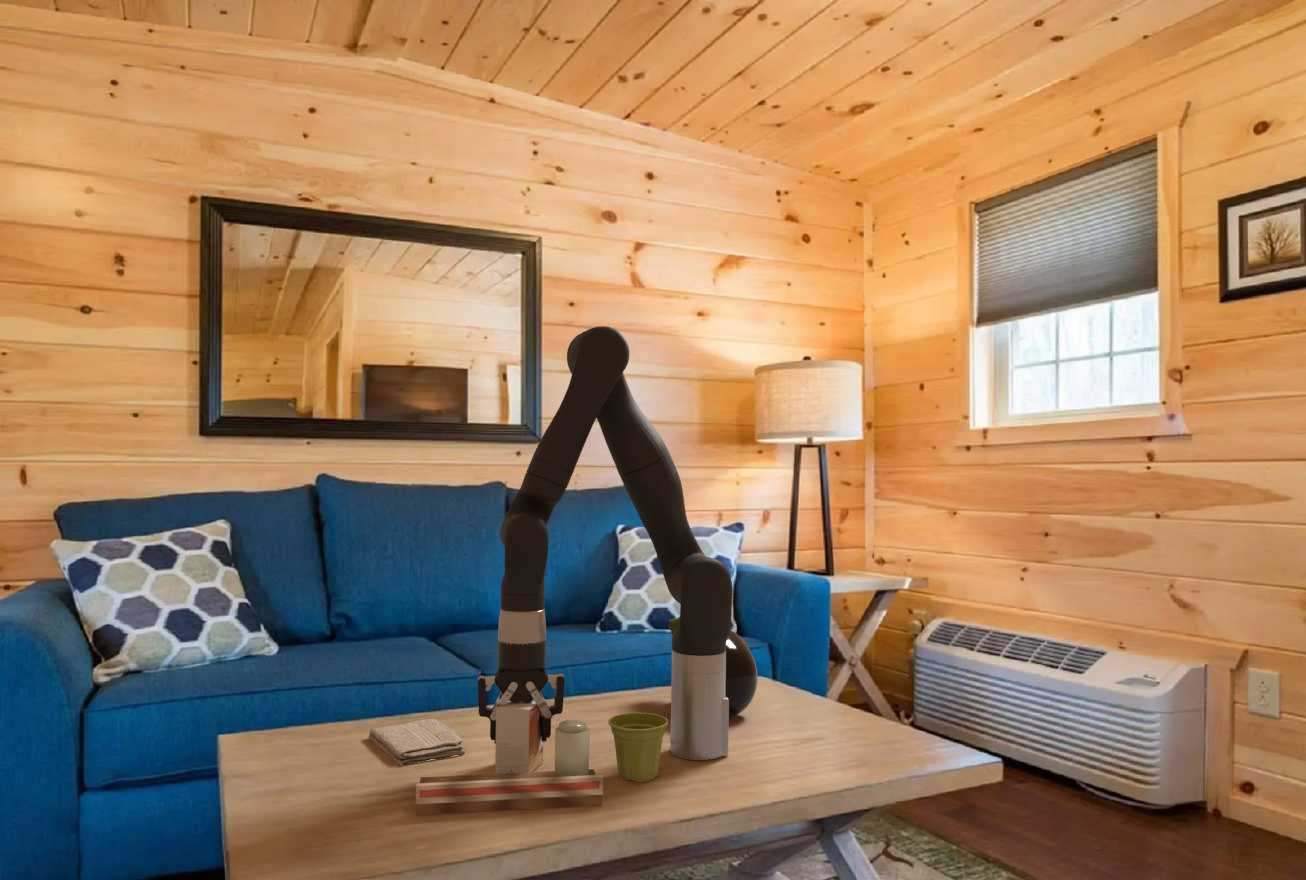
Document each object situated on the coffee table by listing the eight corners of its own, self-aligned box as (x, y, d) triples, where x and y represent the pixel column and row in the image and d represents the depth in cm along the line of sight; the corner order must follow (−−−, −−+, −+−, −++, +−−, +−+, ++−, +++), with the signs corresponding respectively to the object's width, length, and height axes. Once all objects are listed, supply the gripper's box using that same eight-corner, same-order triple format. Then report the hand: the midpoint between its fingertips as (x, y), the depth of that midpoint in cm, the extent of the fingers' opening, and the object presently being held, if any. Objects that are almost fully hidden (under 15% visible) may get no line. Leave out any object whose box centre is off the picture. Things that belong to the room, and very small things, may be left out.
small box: (528, 778, 143) (529, 709, 144) (494, 775, 144) (495, 707, 145) (544, 761, 151) (545, 697, 151) (511, 759, 152) (513, 694, 152)
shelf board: (593, 778, 143) (593, 752, 143) (602, 805, 132) (603, 777, 133) (420, 787, 139) (421, 760, 139) (415, 815, 128) (415, 786, 128)
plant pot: (623, 790, 139) (624, 731, 139) (597, 770, 147) (598, 715, 147) (678, 780, 143) (679, 724, 143) (650, 762, 151) (651, 709, 152)
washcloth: (400, 770, 148) (400, 750, 148) (365, 741, 163) (366, 723, 163) (470, 757, 154) (470, 738, 154) (431, 730, 169) (431, 713, 169)
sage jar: (586, 776, 140) (587, 718, 140) (590, 788, 135) (591, 728, 135) (553, 778, 139) (554, 719, 139) (556, 790, 134) (557, 729, 134)
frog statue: (690, 749, 175) (642, 682, 197) (763, 737, 181) (708, 673, 203) (699, 660, 170) (648, 601, 192) (774, 650, 176) (716, 594, 198)
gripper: (564, 631, 153) (563, 732, 153) (476, 633, 151) (474, 736, 150) (569, 640, 146) (567, 746, 145) (476, 642, 143) (474, 750, 143)
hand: (520, 741), depth 148 cm, fingers closed on small box, 7 cm apart
